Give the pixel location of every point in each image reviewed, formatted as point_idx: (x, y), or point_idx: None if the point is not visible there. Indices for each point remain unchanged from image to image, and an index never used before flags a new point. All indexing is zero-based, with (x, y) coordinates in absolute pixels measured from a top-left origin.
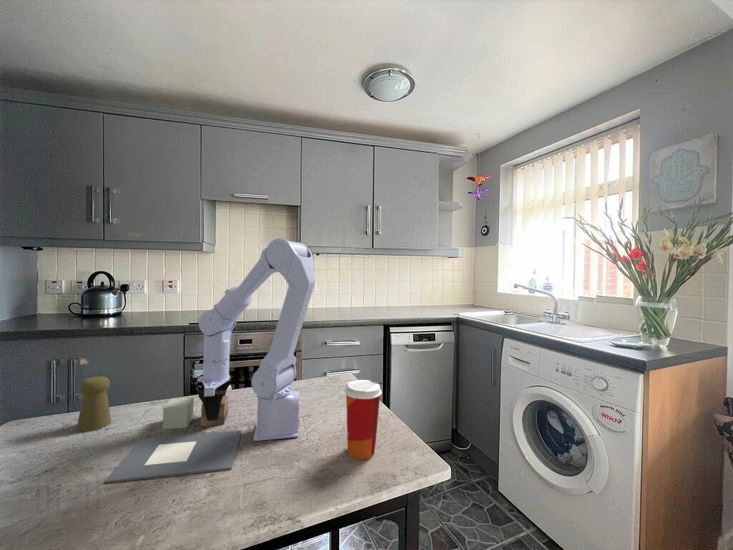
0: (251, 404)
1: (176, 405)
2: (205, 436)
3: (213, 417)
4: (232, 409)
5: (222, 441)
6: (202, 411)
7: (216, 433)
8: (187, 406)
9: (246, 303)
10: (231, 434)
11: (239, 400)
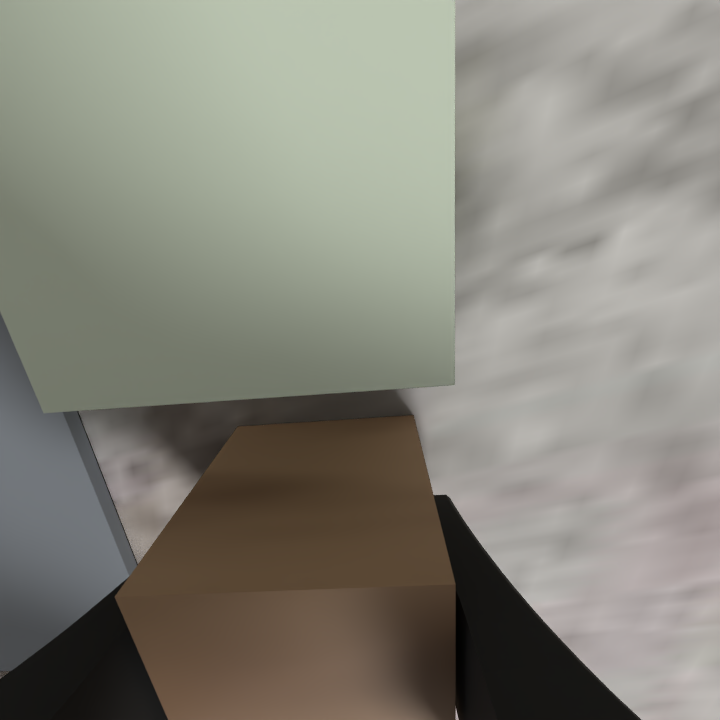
0: (577, 654)
1: (30, 173)
2: (55, 512)
3: None
4: (516, 563)
5: (18, 608)
6: (176, 525)
7: (106, 561)
8: (50, 409)
9: None
10: None
11: (695, 579)
